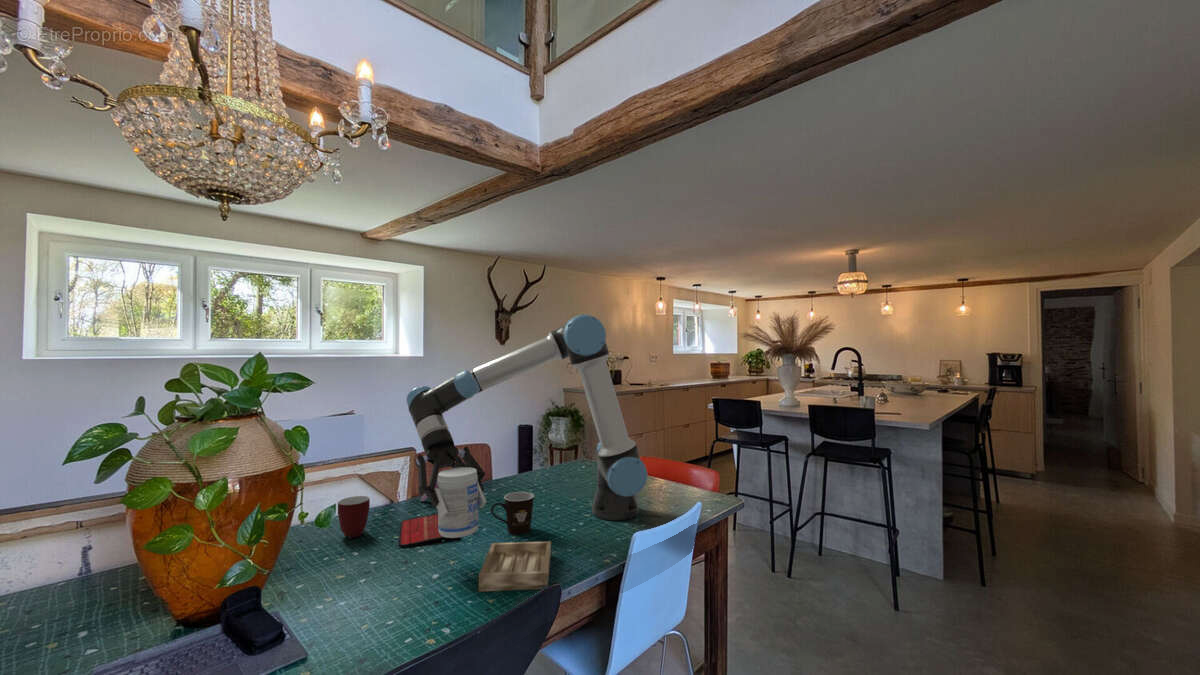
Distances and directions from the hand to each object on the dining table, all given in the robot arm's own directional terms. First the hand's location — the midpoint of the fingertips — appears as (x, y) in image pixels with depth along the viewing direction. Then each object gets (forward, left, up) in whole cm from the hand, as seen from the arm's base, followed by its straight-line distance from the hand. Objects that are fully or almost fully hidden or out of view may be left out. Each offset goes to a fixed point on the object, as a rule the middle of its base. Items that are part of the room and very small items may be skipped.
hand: (464, 510), depth 112 cm
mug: (+37, -24, -14) cm, 47 cm away
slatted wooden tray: (-13, +2, -14) cm, 19 cm away
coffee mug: (-9, -23, -14) cm, 29 cm away
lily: (+22, -52, -14) cm, 58 cm away
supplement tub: (+2, -2, -6) cm, 7 cm away
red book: (+16, -25, -15) cm, 34 cm away
